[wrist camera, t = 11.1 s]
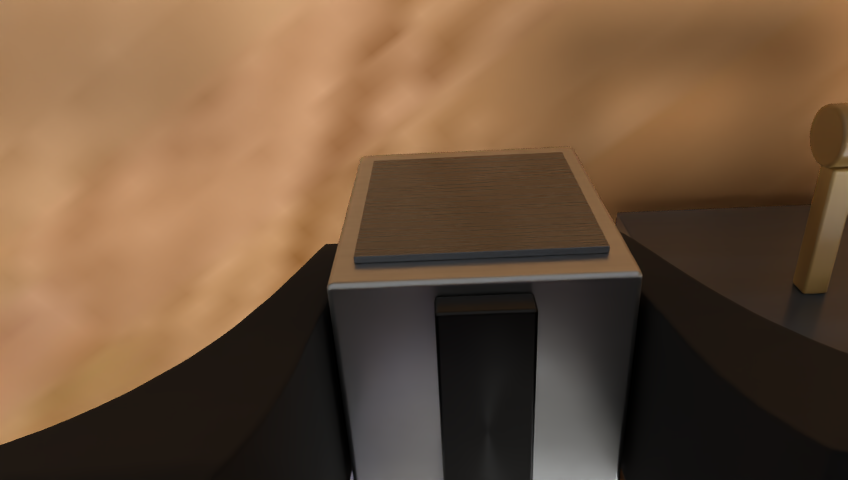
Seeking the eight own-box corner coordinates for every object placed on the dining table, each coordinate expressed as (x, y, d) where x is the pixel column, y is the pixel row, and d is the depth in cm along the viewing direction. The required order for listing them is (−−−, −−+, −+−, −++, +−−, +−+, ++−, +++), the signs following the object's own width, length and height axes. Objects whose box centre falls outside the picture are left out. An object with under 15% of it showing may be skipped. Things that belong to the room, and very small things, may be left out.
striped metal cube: (378, 337, 14) (354, 541, 10) (359, 149, 12) (318, 295, 8) (563, 330, 14) (625, 534, 9) (573, 138, 12) (656, 282, 8)
